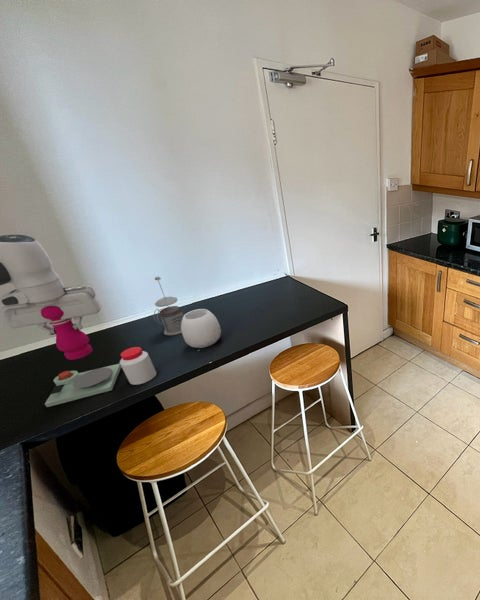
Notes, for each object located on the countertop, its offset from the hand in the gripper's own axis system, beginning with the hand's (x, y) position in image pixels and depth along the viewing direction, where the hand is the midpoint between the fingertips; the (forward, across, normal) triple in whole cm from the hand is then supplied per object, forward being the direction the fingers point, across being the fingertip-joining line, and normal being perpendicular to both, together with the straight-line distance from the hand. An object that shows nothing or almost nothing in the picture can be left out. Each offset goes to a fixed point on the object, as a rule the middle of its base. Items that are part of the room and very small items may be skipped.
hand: (66, 331), depth 96 cm
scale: (+21, +3, -1) cm, 22 cm away
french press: (+22, -20, -28) cm, 41 cm away
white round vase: (+22, -32, -11) cm, 40 cm away
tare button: (+19, +8, -5) cm, 21 cm away
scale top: (+18, +2, 0) cm, 19 cm away
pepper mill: (+9, 0, 0) cm, 9 cm away
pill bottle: (+22, -13, +3) cm, 25 cm away
